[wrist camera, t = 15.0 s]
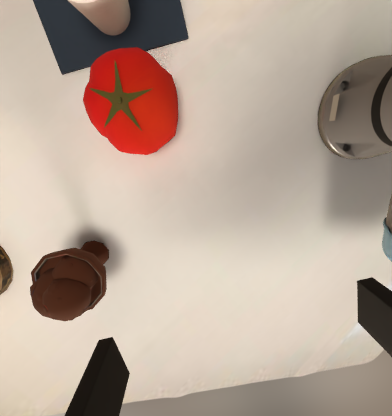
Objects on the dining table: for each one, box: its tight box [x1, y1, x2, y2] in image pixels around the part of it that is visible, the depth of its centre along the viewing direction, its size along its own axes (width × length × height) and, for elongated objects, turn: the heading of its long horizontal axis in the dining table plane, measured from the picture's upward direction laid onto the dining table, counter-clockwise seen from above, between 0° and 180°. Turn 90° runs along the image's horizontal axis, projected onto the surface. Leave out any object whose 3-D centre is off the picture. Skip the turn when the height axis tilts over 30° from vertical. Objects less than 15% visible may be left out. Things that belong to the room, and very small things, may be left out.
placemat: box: [33, 0, 188, 74], centre depth 30 cm, size 20×11×1 cm, turn 104°
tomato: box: [83, 47, 178, 155], centre depth 29 cm, size 13×12×11 cm
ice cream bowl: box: [30, 241, 109, 321], centre depth 34 cm, size 11×11×15 cm
